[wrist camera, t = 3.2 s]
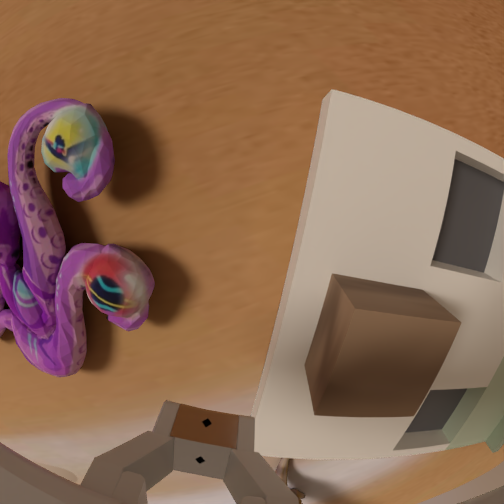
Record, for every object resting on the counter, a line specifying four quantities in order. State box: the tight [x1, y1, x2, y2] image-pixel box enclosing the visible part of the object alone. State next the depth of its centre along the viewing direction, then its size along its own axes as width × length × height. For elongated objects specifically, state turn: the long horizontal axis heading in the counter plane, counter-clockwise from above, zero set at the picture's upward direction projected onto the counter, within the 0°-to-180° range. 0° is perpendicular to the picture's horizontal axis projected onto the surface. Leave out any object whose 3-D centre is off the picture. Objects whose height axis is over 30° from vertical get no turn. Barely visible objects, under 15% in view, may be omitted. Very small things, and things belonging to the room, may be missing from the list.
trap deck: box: [251, 89, 504, 460], centre depth 18 cm, size 25×27×4 cm
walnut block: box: [304, 273, 462, 417], centre depth 15 cm, size 6×6×4 cm
